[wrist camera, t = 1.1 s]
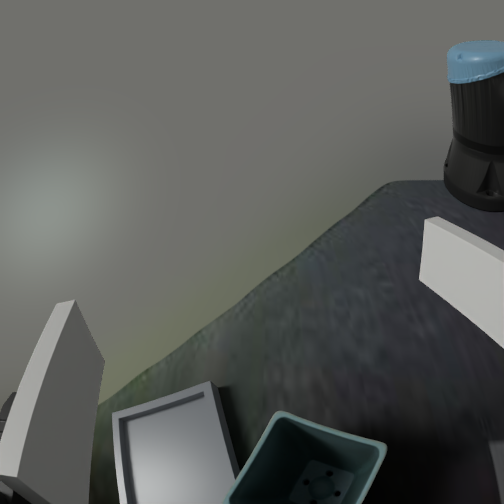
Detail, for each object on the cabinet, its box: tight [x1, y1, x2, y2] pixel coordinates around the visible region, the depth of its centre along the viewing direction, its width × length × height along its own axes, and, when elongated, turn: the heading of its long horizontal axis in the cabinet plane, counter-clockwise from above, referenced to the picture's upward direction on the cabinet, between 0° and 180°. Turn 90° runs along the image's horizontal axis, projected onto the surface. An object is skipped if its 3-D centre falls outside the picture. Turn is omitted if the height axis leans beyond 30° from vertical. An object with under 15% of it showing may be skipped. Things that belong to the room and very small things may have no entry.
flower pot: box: [222, 411, 387, 504], centre depth 19 cm, size 9×9×9 cm
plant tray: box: [112, 381, 240, 504], centre depth 28 cm, size 14×14×2 cm
